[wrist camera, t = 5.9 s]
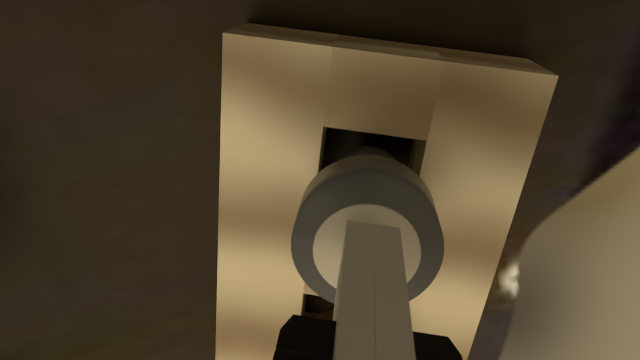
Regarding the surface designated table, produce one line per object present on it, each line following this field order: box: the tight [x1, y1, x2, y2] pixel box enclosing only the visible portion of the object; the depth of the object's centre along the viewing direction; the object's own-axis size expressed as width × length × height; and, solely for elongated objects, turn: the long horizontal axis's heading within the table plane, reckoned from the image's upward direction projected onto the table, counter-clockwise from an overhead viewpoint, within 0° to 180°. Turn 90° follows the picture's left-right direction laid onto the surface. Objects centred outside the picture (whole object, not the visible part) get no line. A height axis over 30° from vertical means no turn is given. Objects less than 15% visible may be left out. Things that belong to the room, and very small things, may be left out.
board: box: [215, 23, 559, 360], centre depth 24 cm, size 28×12×4 cm, turn 174°
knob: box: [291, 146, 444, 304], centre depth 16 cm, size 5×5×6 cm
